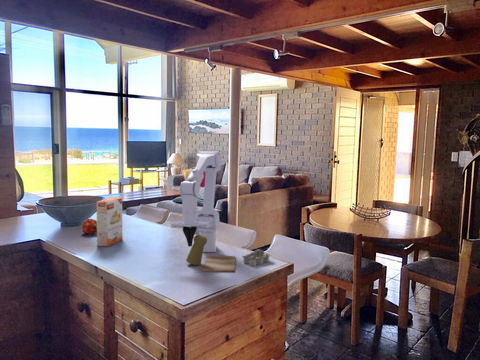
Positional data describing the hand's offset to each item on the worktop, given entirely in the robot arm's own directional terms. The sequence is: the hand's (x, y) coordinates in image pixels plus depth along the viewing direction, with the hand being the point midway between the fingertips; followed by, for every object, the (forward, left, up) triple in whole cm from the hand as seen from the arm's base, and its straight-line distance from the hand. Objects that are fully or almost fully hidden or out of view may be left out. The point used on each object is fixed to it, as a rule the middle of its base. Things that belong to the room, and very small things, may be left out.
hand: (190, 245), depth 152 cm
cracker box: (-31, -42, -8) cm, 53 cm away
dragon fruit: (-49, -58, -8) cm, 76 cm away
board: (0, +12, -7) cm, 14 cm away
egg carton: (-4, +26, -8) cm, 28 cm away
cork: (0, +1, -7) cm, 7 cm away
